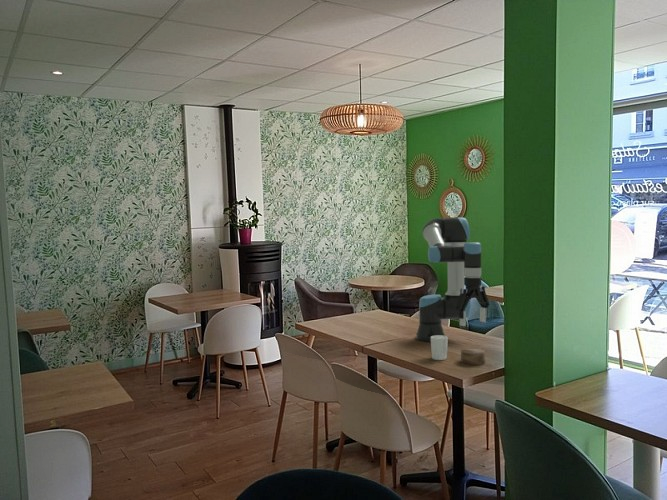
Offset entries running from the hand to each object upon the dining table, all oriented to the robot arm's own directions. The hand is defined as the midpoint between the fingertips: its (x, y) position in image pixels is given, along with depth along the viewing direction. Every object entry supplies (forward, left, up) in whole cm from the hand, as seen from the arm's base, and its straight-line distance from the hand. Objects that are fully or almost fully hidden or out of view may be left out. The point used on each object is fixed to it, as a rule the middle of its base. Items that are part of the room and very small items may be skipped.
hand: (472, 323), depth 249 cm
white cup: (+7, -14, -18) cm, 24 cm away
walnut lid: (0, 0, -18) cm, 18 cm away
